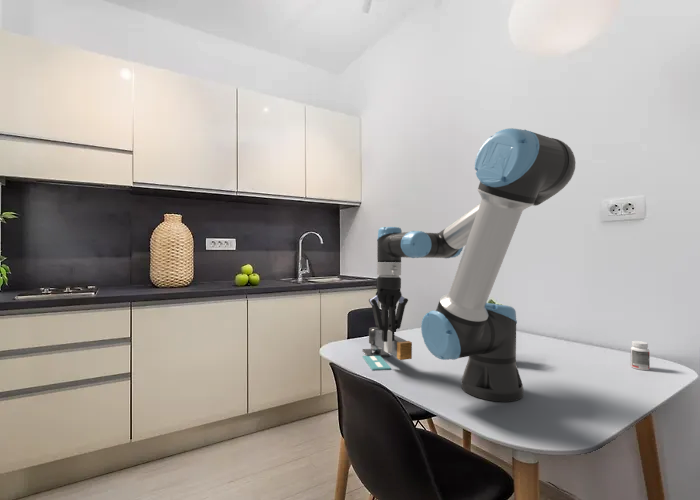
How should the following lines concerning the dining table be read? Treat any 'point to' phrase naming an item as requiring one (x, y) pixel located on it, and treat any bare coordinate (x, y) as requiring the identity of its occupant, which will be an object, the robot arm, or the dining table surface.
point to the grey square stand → (375, 351)
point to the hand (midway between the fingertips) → (387, 351)
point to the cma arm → (399, 345)
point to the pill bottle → (640, 355)
